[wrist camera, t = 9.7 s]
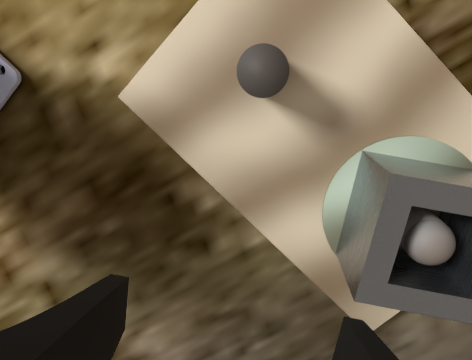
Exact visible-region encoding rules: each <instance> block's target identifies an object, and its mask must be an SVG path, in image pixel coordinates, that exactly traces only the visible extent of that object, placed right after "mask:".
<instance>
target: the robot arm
mask: <svg viewBox="0 0 472 360" xmlns="http://www.w3.org/2000/svg"><path fill="white" fill-rule="evenodd" d="M2 66H4V68H5V74H3V73H2V72H1V67H2ZM20 82H21V74H20V72H19V71H18V70H17V69H16V68H15V67H14V66H13V65H12V64H11V63H10V62H9V61H8V60H6V59H5V58H4V57H3V56H2V55H1V54H0V110H1V108H2V107H3V106H4V104H5V103H6V102H7V100H8V99H9V97H10V96H11V95H12V93H13V92H14V91H15V89H16V88H17V87H18V85H19V84H20ZM128 282H129V277H124V276H118V275H113V274H111V275H109V276H107V277H105V278H103V279H102V280H100V281H98V282H97V283H95V284H93V285H91V286H90V287H88V288H86V289H85V290H83V291H81V292H79V293H78V294H76V295H74V296H72V297H71V298H69V299H67V300H65V301H64V302H62V303H60V304H58V305H56V306H54V307H52V308H50V309H48V310H46V311H44V312H42V313H40V314H38V315H36V316H34V317H32V318H30V319H28V320H26V321H24V322H21V323H19V324H17V325H14V326H12V327H10V328H7V329H5V330H2V331H0V360H111V359H112V357H113V355H114V352H115V350H116V348H117V346H118V344H119V341H120V339H121V337H122V334H123V332H124V330H125V319H126V307H127V294H128ZM332 360H399V359H398V358H397V357H396V356H395V355H394V354H393V353H392V352H391V350H390V349H389V348H388V347H387V346H386V345H385V344H384V343H383V341H382V340H381V339H380V338H379V337H378V336H377V335H376V334H375V332H374V331H373V330H372V329H371V328H370V327H369V326H368V325H367V324H366V323H365V322H364V321H363V320H360V319H354V318H349V317H344V319H343V322H342V326H341V330H340V333H339V337H338V341H337V344H336V348H335V352H334V355H333V359H332Z"/></svg>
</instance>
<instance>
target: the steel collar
mask: <svg viewBox="0 0 472 360" xmlns="http://www.w3.org/2000/svg"><path fill="white" fill-rule="evenodd" d="M412 206H415V207H421V208H426V209H432V210H438V211H440V212H439V215H438V218H439V219H440V220H441V221H443V222H444V223H445V224H446V225H447V226H448V227H449V228H450V229H451V230H452V232H453V234H454V236H455V240H456V247H455V251H454V253H453V255H452V256H451V257H450V258H449V259H448V260H447V261H446V262H444V263H442V264H439V265H432V266H431V265H424V264H421V263H418V262H416V261H415V260H413V259H412V258H411V257H410V256H409V255H408V254H407V252H406V251H405V250H404V249H403V247H402V246H401V245H400V242H401V239H402V236H403V233H404V230H405V226H406V223H407V220H408V217H409V213H410V210H411V207H412ZM336 255H337V257H338V260H339V263H340V265H341V268H342V271H343V273H344V276H345V279H346V281H347V284H348V287H349V289H350V292H351V295H352V298H353V300H354V302H359V303H364V304H369V305H375V306H380V307H385V308H390V309H396V310H401V311H406V312H411V313H417V314H422V315H427V316H432V317H438V318H443V319H448V320H453V321H458V322H464V323H469V324H472V170H471V169H466V168H460V167H454V166H448V165H443V164H437V163H431V162H425V161H420V160H414V159H408V158H402V157H397V156H391V155H385V154H379V153H374V152H368V151H362V154H361V157H360V161H359V165H358V169H357V173H356V177H355V180H354V184H353V188H352V192H351V196H350V200H349V203H348V207H347V211H346V215H345V219H344V223H343V226H342V230H341V234H340V238H339V242H338V246H337V249H336Z"/></svg>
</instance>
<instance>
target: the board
mask: <svg viewBox="0 0 472 360" xmlns="http://www.w3.org/2000/svg"><path fill="white" fill-rule="evenodd" d="M118 97H119V98H120V99H121V100H122V101H123V102H124V103H125V104H126V105H127V106H128V107H129V108H130V109H131V110H132V111H133V112H135V113H136V114H137V115H138V116H139V117H140V118H141V119H142V120H143V121H144V122H145V123H146V124H147V125H148V126H149V127H150V128H151V129H152V130H153V131H155V132H156V133H157V134H158V135H159V136H160V137H161V138H162V139H163V140H164V141H165V142H166V143H167V144H168V145H169V146H170V147H171V148H172V149H174V150H175V151H176V152H177V153H178V154H179V155H180V156H181V157H182V158H183V159H184V160H185V161H186V162H187V163H188V164H189V165H190V166H191V167H192V168H194V169H195V170H196V171H197V172H198V173H199V174H200V175H201V176H202V177H203V178H204V179H205V180H206V181H207V182H208V183H209V184H210V185H211V186H212V187H214V188H215V189H216V190H217V191H218V192H219V193H220V194H221V195H222V196H223V197H224V198H225V199H226V200H227V201H228V202H229V203H230V204H231V205H232V206H234V207H235V208H236V209H237V210H238V211H239V212H240V213H241V214H242V215H243V216H244V217H245V218H246V219H247V220H248V221H249V222H250V223H251V224H252V225H254V226H255V227H256V228H257V229H258V230H259V231H260V232H261V233H262V234H263V235H264V236H265V237H266V238H267V239H268V240H269V241H270V242H271V243H272V244H274V245H275V246H276V247H277V248H278V249H279V250H280V251H281V252H282V253H283V254H284V255H285V256H286V257H287V258H288V259H289V260H290V261H291V262H293V263H294V264H295V265H296V266H297V267H298V268H299V269H300V270H301V271H302V272H303V273H304V274H305V275H306V276H307V277H308V278H309V279H310V280H311V281H313V282H314V283H315V284H316V285H317V286H318V287H319V288H320V289H321V290H322V291H323V292H324V293H325V294H326V295H327V296H328V297H329V298H330V299H331V300H333V301H334V302H335V303H336V304H337V305H338V306H339V307H340V308H341V309H342V310H343V311H344V312H345V313H346V314H347V315H348V316H349V317H350V318H354V319H360V320H363V321H364V322H365V323H366V324H367V325H368V326H369V327H370V328H371V329H372V330H373V331H374V330H375V329H376V328H378V327H379V326H381V325H382V324H383V323H385V322H386V321H387V320H389V319H390V318H391V317H393V316H394V315H396V314H397V313H398V312H400V311H401V310H396V309H390V308H385V307H380V306H375V305H369V304H364V303H359V302H354V300H353V298H352V295H351V292H350V289H349V287H348V284H347V281H346V279H345V276H344V273H343V271H342V268H341V265H340V263H339V260H338V257H337V255H336V249H337V246H338V242H339V238H340V234H341V230H342V226H343V223H344V219H345V215H346V211H347V207H348V203H349V200H350V196H351V192H352V188H353V184H354V180H355V177H356V173H357V169H358V165H359V161H360V157H361V154H362V151H368V152H374V153H379V154H385V155H391V156H397V157H402V158H408V159H414V160H420V161H425V162H431V163H437V164H443V165H448V166H454V167H460V168H466V169H471V170H472V96H471V95H470V93H469V92H468V91H467V90H466V89H465V88H464V87H463V86H462V84H461V83H460V82H459V81H458V80H457V79H456V78H455V76H454V75H453V74H452V73H451V72H450V71H449V70H448V69H447V67H446V66H445V65H444V64H443V63H442V62H441V61H440V60H439V58H438V57H437V56H436V55H435V54H434V53H433V52H432V51H431V49H430V48H429V47H428V46H427V45H426V44H425V43H424V42H423V40H422V39H421V38H420V37H419V36H418V35H417V34H416V32H415V31H414V30H413V29H412V28H411V27H410V26H409V25H408V23H407V22H406V21H405V20H404V19H403V18H402V17H401V16H400V14H399V13H398V12H397V11H396V10H395V9H394V8H393V7H392V5H391V4H390V3H389V2H388V1H387V0H198V2H197V3H196V4H195V5H194V6H193V8H192V9H191V10H190V11H189V12H188V14H187V15H186V16H185V17H184V18H183V19H182V21H181V22H180V23H179V24H178V25H177V27H176V28H175V29H174V30H173V31H172V33H171V34H170V35H169V36H168V37H167V39H166V40H165V41H164V42H163V43H162V44H161V46H160V47H159V48H158V49H157V50H156V52H155V53H154V54H153V55H152V56H151V58H150V59H149V60H148V61H147V62H146V64H145V65H144V66H143V67H142V68H141V69H140V71H139V72H138V73H137V74H136V75H135V77H134V78H133V79H132V80H131V81H130V83H129V84H128V85H127V86H126V87H125V89H124V90H123V91H122V92H121V93H120V95H119V96H118ZM439 212H440V211H438V210H432V209H426V208H421V207H415V206H412V207H411V210H410V213H409V217H408V220H407V223H406V226H405V230H404V233H403V236H402V239H401V242H400V245H401V246H402V247H403V249H404V250H405V251H406V252H407V254H408V255H409V256H410V257H411V258H412V259H413V260H415V261H416V262H418V263H421V264H424V265H431V266H432V265H439V264H442V263H444V262H446V261H447V260H448V259H449V258H450V257H451V256H452V255H453V253H454V251H455V247H456V240H455V236H454V234H453V232H452V230H451V229H450V228H449V227H448V226H447V225H446V224H445V223H444V222H443V221H441V220H440V219H439V218H438V215H439Z"/></svg>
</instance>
